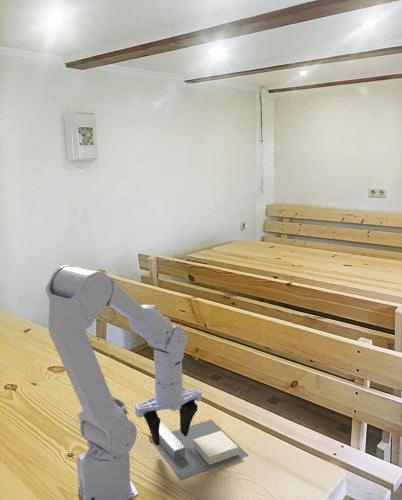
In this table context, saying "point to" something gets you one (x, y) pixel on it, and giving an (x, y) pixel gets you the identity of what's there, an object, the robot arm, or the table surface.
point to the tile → (215, 447)
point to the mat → (193, 459)
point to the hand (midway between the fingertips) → (170, 438)
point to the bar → (171, 443)
